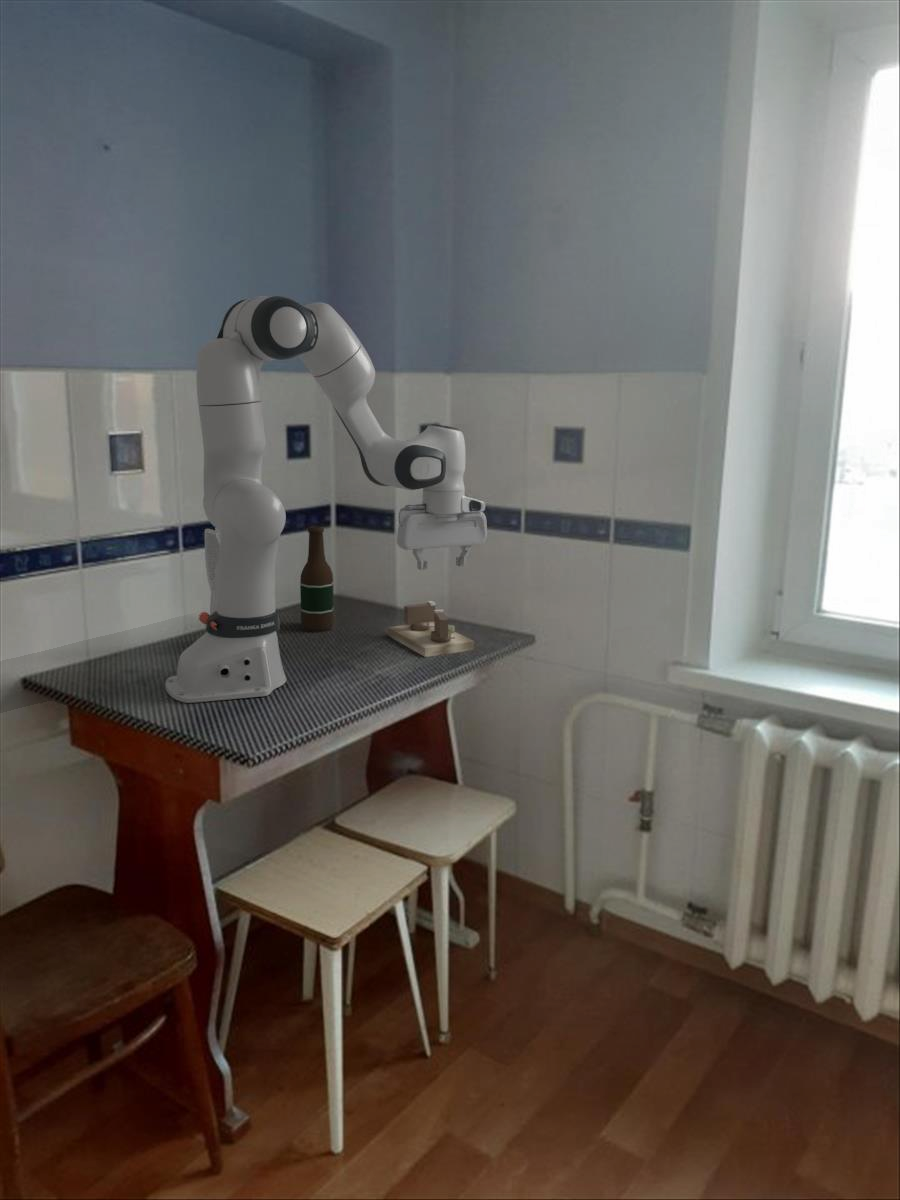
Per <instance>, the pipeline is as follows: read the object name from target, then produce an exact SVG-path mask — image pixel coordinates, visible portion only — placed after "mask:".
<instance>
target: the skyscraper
mask: <svg viewBox="0 0 900 1200" xmlns="http://www.w3.org/2000/svg"><path fill="white" fill-rule="evenodd" d="M214 529H215V530H214ZM214 529H211V528H205V529H204V556H205V568H206V576H207V581H208V586H209V590H210V601H209V606H210V607H209V615H210V616H211V615H212V614H213V613H214V612H215V611H216V589H215V569H216V567H217V564H218V558H219V551H220V541H221V536H220V530H219V529H217V528H216V527H214Z"/></svg>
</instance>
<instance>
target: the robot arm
mask: <svg viewBox="0 0 900 1200" xmlns="http://www.w3.org/2000/svg"><path fill="white" fill-rule="evenodd" d="M295 357H298V358H299V359H300V360H301V361H302V363H304V364H305V366H306V368H307V369H308V370H309V373H310V374H311V375H312V376H313V379H314V380H315V381H316V383H317V385H318V386H319V387H320V388H321V390H322V391H323V392H324V394H325V395H326V396H327V398H328V400H329V401H330V404H331V405H332V406H333V408H334V411H335V412H336V414H337V416H338V418H339V420H340V421H341V423H342V425H343V426H344V428H345V430H346V431H347V433H348V434H349V436H350V439H351V440H352V441H353V443H354V444H355V446H356V449H357V452H358V454H359V457H360V461H361V466H362V470H363V473H364V474H365V475H366V477H367V479H368V480H369V481H370V482H372V483H373V484H375V485H377V486H381V487H393V488H396V489H403V490H407V491H415V490H421V489H422V503H420V504H406V505H405V506H404V507H402V508H400V510H399V511H398V528H397V535H396V537H397V538H396V545H398V547H399V548H400V549H403V550H405V551H412V555H413V556H414V558H415V559H416V561H417V563H416V564H417V566H416V567H417V569H418V570H420V571H422V570H423V571H424V570H427V569H428V561H427V560H425V559H423V556H422V554H424V549H426V550H427V549H437V548H438V549H439V548H452V547H460V549H461V551H460V555H459V556H457V557H455V561H456V562H455V565H456V566H457V567H466V565H467V564H466V563H467V558H468V556H469V554H470V553H471V551H472V546H478V545H479V546H480V545H484V544H485V542H487V541H486V540H487V537H488V535H487V534H488V526H487V523H488V522H487V517H486V515H485V513H484V511H485V510H486V502H484V501H482V500H480V499H476V498H473V497H472V496H469V495H466V494H465V492H466V487H465V483H464V474H465V471H466V461H467V460H466V455H467V453H466V451H467V450H466V442H465V437H464V433H463V432H462V431H461V430H460V429H458V428H457V427H454V426H448V425H442V424H436V423H435V424H428V425H427V427H426V428H425V430H423V431H422V432H421V433H418V434H417V435H416V436H414V437H412V438H409V439H407V440H406V441H403V440H398V439H396V438H393V437H392V436H389V435H388V434H387V433H385V431H383V429H382V427H381V426H380V424H379V422H378V420H377V419H376V417H375V415H374V413H373V412H372V410H371V408H370V406H369V405H368V402H367V395H368V394H369V393H370V391H371V390H372V389H373V386H374V384H375V380H376V369H375V367H374V364H373V362H372V359H371V357H370V355H369V353H368V352H367V350H366V348H365V347H364V345H363V344H362V342H361V341H360V340H359V338H358V336H357V334H356V333H355V332H354V330H353V329H352V328H351V327H350V326H349V324H348V323H347V322H346V320H344V318H343V317H342V316H341V315H340V314H339V313H338V312H337V311H336V310H335V309H334V307H333V306H331V305H330V304H328V303H325V302H324V301H323V302H322V301H318V302H317V301H316V302H315V301H314V302H311V303H308V304H305V305H302V304H300V303H299V302H297V301H296V300H294V299H291V298H289V297H285V296H279V295H277V296H275V295H274V296H268V295H266V296H264V295H259V296H255V297H254V296H253V297H251V298H247V299H243V300H240V301H237V302H236V303H234V304H233V305H231V306H230V308H229V309H227V312H226V313H225V315H224V316H223V319H222V322H221V326H220V329H219V332H218V335H217V337H216V338H215V339H212V340H210V341H207V342H206V343H204V344H203V345H202V346H201V347H200V348H199V350H198V353H197V357H196V358H197V359H196V396H197V403H198V404H197V405H198V413H199V414H198V415H199V421H200V427H201V428H200V429H201V437H202V446H203V498H202V504H203V505H202V506H203V510H204V513H205V515H206V518H207V520H208V521H209V522H210V524H211V525H212V526H213V527H214V528H217V529H219V530H220V536H221V541H220V551H219V558H218V564H217V567H216V569H215V589H216V611H215V612H214V613H213V614H212V615H211V616H210V613H208V612H206V611H202V612H200V614H199V615H198V616H199V617H198V620H199V621H200V622H201V623H202V624H203V625H205V626H206V632H205V633H203V635H201V637H199V638H198V639H197V640H195V641H194V642H193V643H192V644H191V645H189V646H188V647H187V648H186V649H185V650H184V651H182V653H181V654H179V655H180V656H179V657H178V662H177V668H176V675H172V676H169V677H168V678H167V679H166V680H165V686H164V687H165V688H164V689H165V692H166V693H167V694H168V695H169V696H170V697H171V698H173V699H174V700H176V701H178V702H182V703H187V704H191V703H202V702H215V701H225V700H227V701H228V700H236V699H237V700H238V699H247V698H257V697H267V696H269V695H270V694H271V693H272V692H273V691H274V690H275V689H277V688H279V687H281V686H283V685H284V684H285V683H286V682H287V676H286V673H285V671H284V667H283V663H282V658H281V653H280V646H279V640H278V638H279V636H280V618H279V610H278V608H277V606H276V605H277V604H276V603H277V602H276V601H277V600H276V595H277V594H276V566H277V557H278V552H279V545H280V539H281V533H282V532H283V531H284V527H285V525H286V519H287V518H286V517H287V515H286V510H285V507H284V505H283V503H282V501H281V500H280V498H279V497H278V496H277V494H276V493H275V492H274V491H273V490H272V489H270V488H269V487H267V486H266V485H263V479H262V475H263V474H262V472H263V461H264V460H263V459H264V458H263V457H264V452H265V449H266V445H267V441H266V432H265V423H264V416H263V415H264V414H263V405H262V398H261V397H262V396H261V391H260V385H259V384H260V383H259V382H260V373H261V370H262V366H263V365H264V363H265V362H272V361H279V360H280V361H281V360H282V361H284V360H289V359H293V358H295Z"/></svg>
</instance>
